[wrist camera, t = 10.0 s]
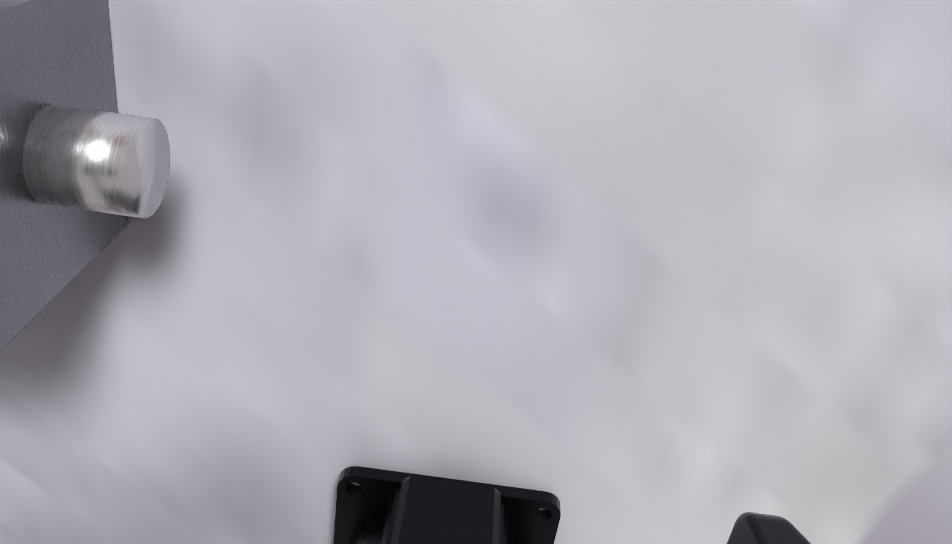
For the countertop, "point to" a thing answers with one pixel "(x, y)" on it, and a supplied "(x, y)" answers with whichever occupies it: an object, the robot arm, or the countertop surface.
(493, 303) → the countertop surface
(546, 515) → the robot arm
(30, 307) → the grey angular piece
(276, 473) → the countertop surface
